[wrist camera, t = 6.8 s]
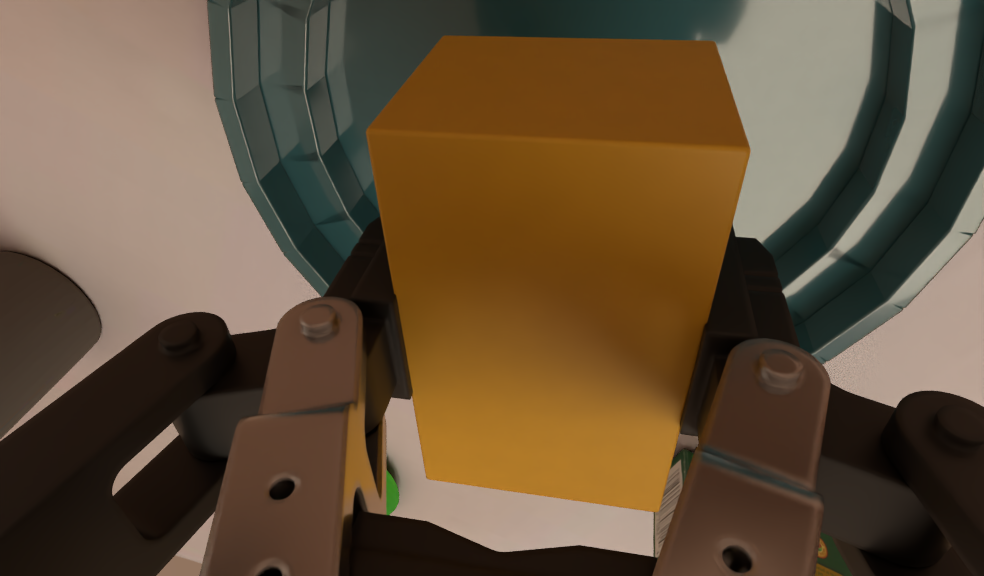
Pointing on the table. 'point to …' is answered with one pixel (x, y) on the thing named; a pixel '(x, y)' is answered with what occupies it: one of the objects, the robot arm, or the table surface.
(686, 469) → the coffee box
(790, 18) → the teal plate
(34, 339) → the bottle
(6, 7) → the table surface
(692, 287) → the block
